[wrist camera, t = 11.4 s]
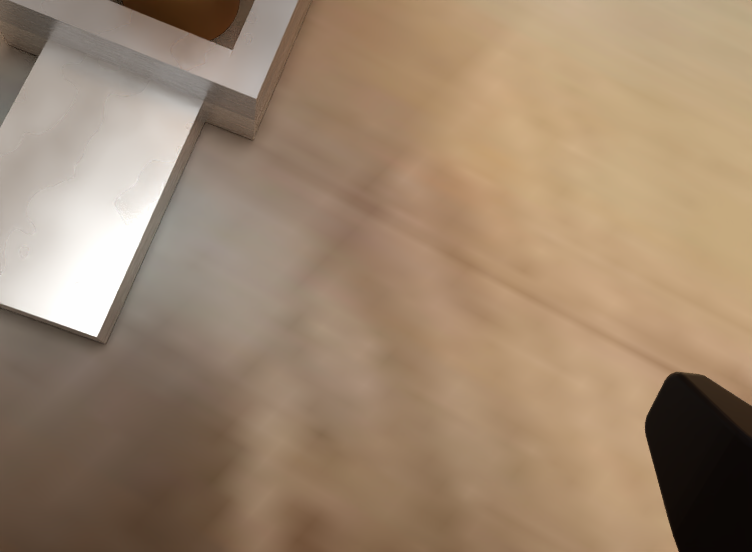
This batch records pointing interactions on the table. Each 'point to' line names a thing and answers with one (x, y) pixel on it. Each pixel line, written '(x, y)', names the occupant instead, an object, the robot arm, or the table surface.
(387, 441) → the table surface
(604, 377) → the table surface
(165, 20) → the pin
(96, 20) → the grey peg socket block
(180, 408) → the table surface
